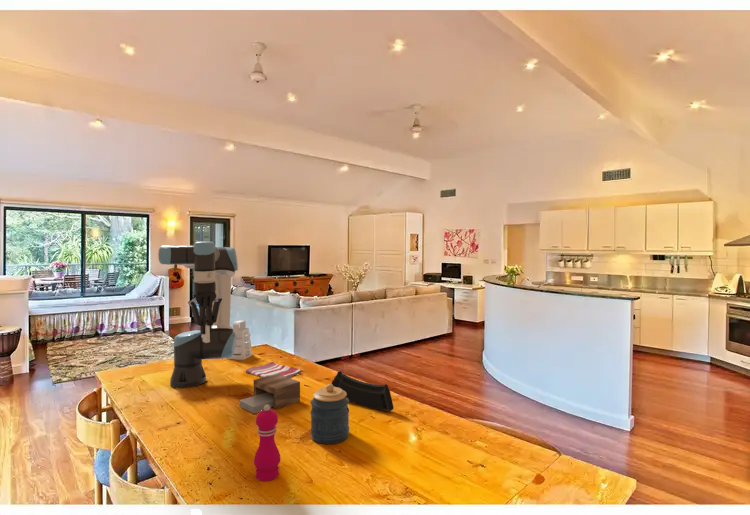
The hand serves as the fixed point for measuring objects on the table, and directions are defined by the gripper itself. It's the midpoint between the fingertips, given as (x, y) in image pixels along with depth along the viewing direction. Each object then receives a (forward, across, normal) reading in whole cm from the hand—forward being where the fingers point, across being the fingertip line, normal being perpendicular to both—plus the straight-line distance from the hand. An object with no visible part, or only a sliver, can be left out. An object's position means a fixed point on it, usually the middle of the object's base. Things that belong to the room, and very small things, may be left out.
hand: (206, 341), depth 165 cm
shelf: (+26, +22, -15) cm, 37 cm away
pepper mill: (+25, -14, -58) cm, 65 cm away
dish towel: (+28, +44, +16) cm, 54 cm away
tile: (+27, +17, -14) cm, 35 cm away
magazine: (+26, +42, -43) cm, 66 cm away
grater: (+29, +49, +54) cm, 79 cm away
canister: (+25, +14, -54) cm, 62 cm away
